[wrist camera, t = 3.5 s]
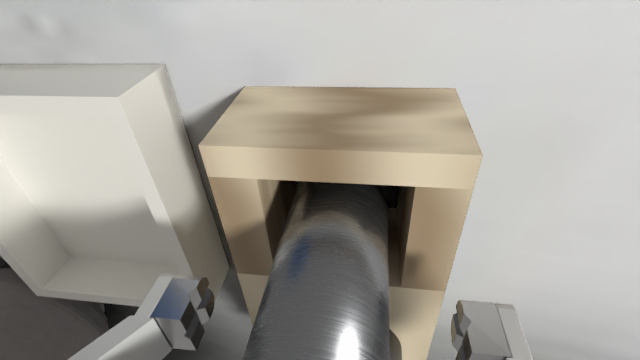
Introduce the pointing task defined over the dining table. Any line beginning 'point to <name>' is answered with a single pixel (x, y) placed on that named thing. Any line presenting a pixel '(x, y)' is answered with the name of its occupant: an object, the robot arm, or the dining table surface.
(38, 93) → the tray
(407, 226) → the plate
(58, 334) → the coffee pot
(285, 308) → the pin
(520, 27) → the dining table surface
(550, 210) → the dining table surface
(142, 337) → the robot arm
